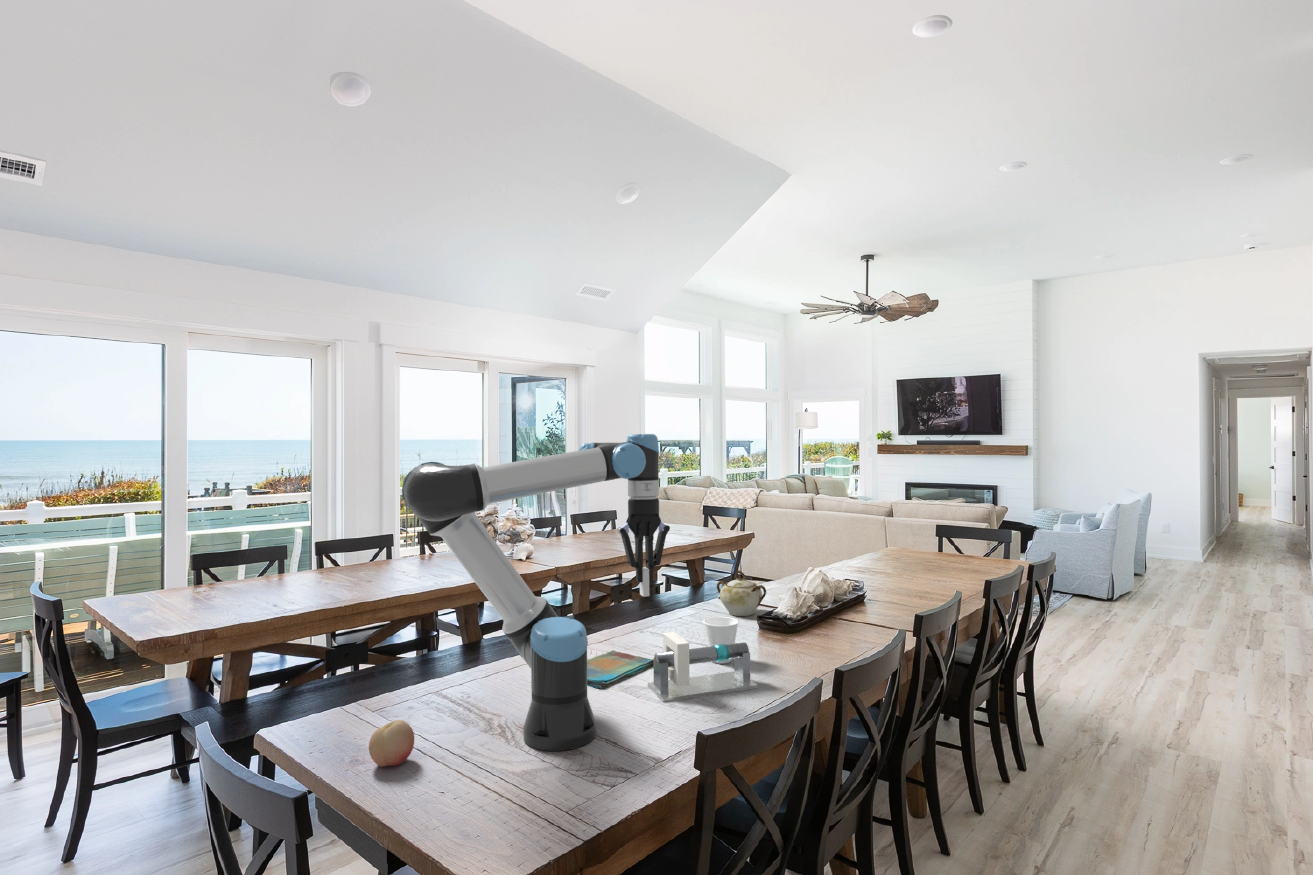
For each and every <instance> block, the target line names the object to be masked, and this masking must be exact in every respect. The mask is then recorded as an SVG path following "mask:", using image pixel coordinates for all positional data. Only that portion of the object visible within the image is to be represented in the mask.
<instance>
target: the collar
mask: <svg viewBox="0 0 1313 875" xmlns="http://www.w3.org/2000/svg"><path fill="white" fill-rule="evenodd" d="M662 646H663V647H662V652H670V651H674V667H668V680H669V679H670V680H672V681H673V682H674V683H675V684H676V685H677V686H684V685H690V680H689V678H690V664H689V649H690V642H688V641H687V640H686V639H685V638H683V637H681V635H679V634H677V633H676V632H673V631H672V632H663V633H662Z"/></svg>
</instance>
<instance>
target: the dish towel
mask: <svg viewBox="0 0 1313 875" xmlns="http://www.w3.org/2000/svg"><path fill="white" fill-rule="evenodd" d="M651 667H653V658H649V657H648V658H647V657H643V656H639V655H633V654H630V653H627V652H626V653H625V652H620V651H618V650H617V651H616V650H611V651H608V652H606V653H603V654H599V655H596V656H594V657H591V658H587V687H590V688H594V689H597V690H603V689H607V688H608V687H611V686H613V685H615V684H616V683H617V682H620V681H622V680H624V679H626V678H628V677H630V676H633V675H635V674H637V673H639V672H641V671H642V672H643V671H644V670H646V669H648V668H651Z"/></svg>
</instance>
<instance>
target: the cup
mask: <svg viewBox="0 0 1313 875" xmlns="http://www.w3.org/2000/svg"><path fill="white" fill-rule="evenodd" d="M702 623H703V625H704V631H705V635H706V636H705V637H706V642H707V647H711V646H713V645H721V644H726V645H727V644H736V637H737V631H738V625H739V624H740V623H739V620H738V619H737V618H734V617H729V616H711V617H707V618H704V619H703V621H702ZM731 662H733V659H728V660H727V661H719V662H715V661H712V663H714V664H719V665H725V664H729V663H731Z"/></svg>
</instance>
